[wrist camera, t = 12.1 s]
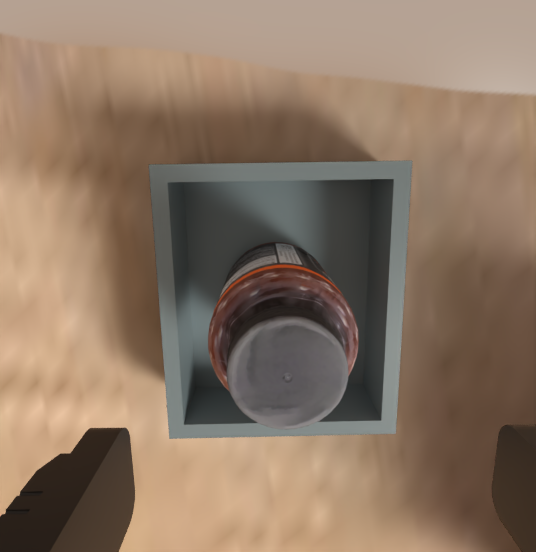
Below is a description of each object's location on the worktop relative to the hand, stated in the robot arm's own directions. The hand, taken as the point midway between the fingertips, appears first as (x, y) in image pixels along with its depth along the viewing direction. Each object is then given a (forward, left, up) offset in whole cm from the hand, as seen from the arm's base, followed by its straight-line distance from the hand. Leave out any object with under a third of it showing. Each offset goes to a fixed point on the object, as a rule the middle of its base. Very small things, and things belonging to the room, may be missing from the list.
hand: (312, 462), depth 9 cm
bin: (0, 0, -17) cm, 17 cm away
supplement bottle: (0, 0, -16) cm, 16 cm away
